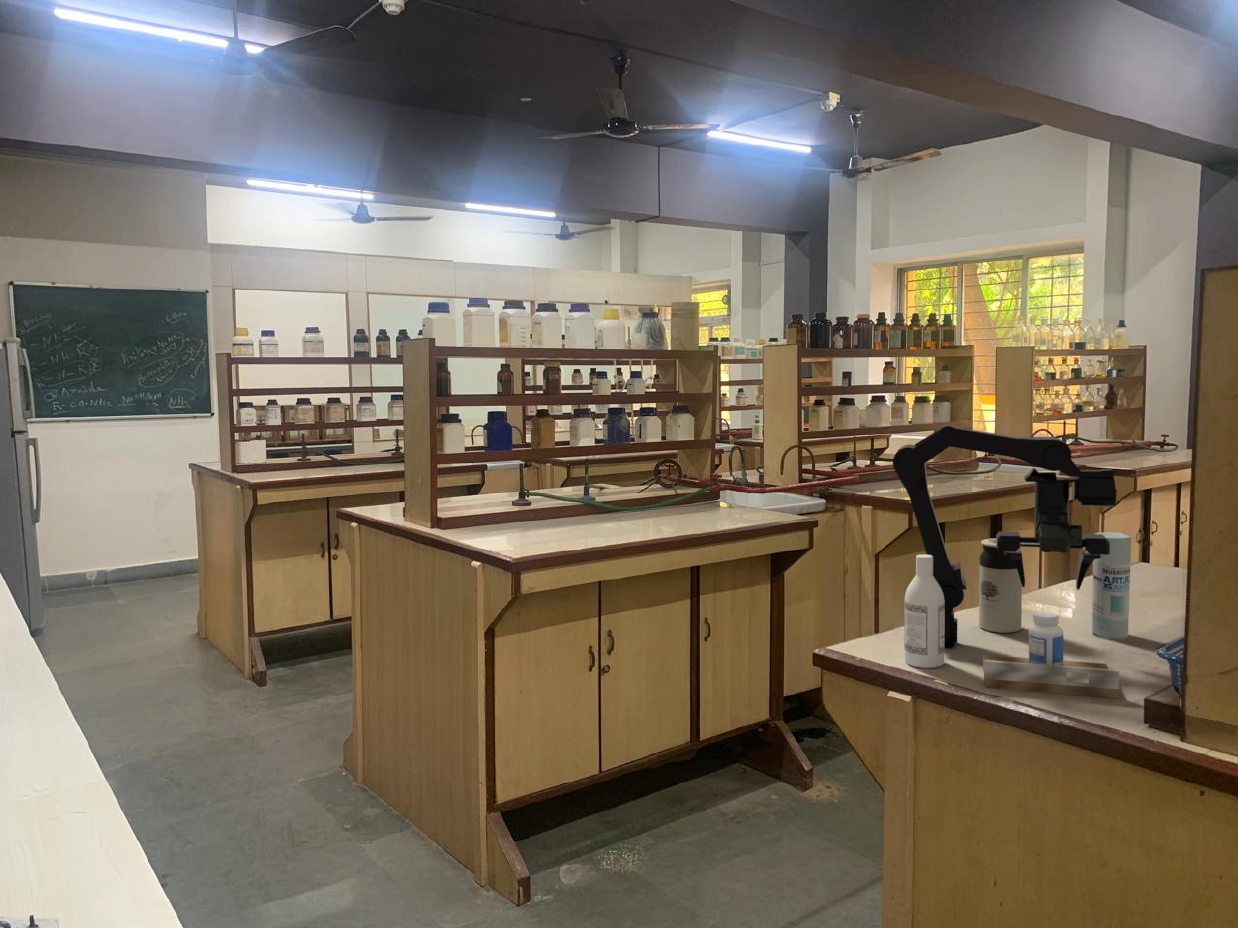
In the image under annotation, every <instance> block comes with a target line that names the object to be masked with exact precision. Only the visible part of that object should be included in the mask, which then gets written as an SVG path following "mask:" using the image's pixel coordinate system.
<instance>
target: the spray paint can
mask: <svg viewBox="0 0 1238 928" xmlns="http://www.w3.org/2000/svg"><path fill="white" fill-rule="evenodd" d="M1094 534H1103V535H1104V536H1105V537H1106V538H1107V539H1108V541H1109V543H1110V554H1108V555H1102V554H1100V555H1101V558H1100V559H1095V560H1094V561H1093V562H1092V608H1091V609H1092V612H1091V615H1092V616H1091V621H1092V622H1091V631H1092V635H1093V636H1095V637H1097V638H1101V639H1106V640H1119V641H1120V640H1126V639H1127V638H1128V635H1129V615H1130V590H1131V589H1130V586H1131V585H1130V583H1131V560H1132V559H1131V558H1132V557H1131V556H1132V555H1131V554H1132V536H1131V535H1130V534H1129V533H1128V534H1127V533H1124V532H1122V533H1121V532H1115V531H1114V532H1113V531H1111V532H1108V531H1107V532H1106V531H1103V532H1095V533H1094Z"/></svg>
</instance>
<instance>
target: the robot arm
mask: <svg viewBox="0 0 1238 928" xmlns="http://www.w3.org/2000/svg"><path fill="white" fill-rule="evenodd" d="M948 448H959V449H963V450H969V451H975V452H980V453H986V454H993V455H998V456H1003V457H1007V458H1008V457H1010V458H1014V459H1018V460H1020V461H1023V462H1025V463H1027V464H1030V465H1033V466H1036V467H1038V468H1041V469H1044V470H1047V471H1044V472H1043V471H1038V470H1037V469H1036V468H1035V467H1033V468H1031V470H1030V471H1029V472H1028V473H1027V474H1025V475H1024V476H1023V479H1024V480H1025V482H1027V483H1034V486H1035V487H1034V526H1033V527H1034V532H1033V533H1034V534H1033V535H1034V536H1021V534H1020V532H1019V531H998V532H997V533H996V535H995V537H996V546H997V550H998V551H1004V554H1005V555H1008V556H1011V557H1012V559H1013V561H1014V563H1015V566H1016V568H1017V571H1018V574H1019V577H1020V580H1021V584H1022V588H1025V587H1026V577H1025V571H1024V570H1025V568H1024V560H1023V552H1022V550H1021V549H1022V547H1023V548H1024V547H1025V548H1026V547H1027V548H1039V549H1040V551H1041V552H1043V553H1051V552H1057V553H1061V554H1067V553H1070V551H1071V549H1079V552H1078V559H1077V568H1076V577H1075V587H1076V588H1075V589H1076V590H1078V591H1079V590H1080V589H1081V586H1082V584H1083V581H1084V579H1085V576H1086V574H1087V571H1088V570H1089V568H1090V566H1091V564H1093V561H1094V560H1095V559H1100V558H1101V555H1100V554H1102V555H1108V554H1110V543H1109V541H1108V539H1107V538H1106V537H1105V536H1104V535H1103V534H1095V533H1083V526H1082V524H1080V525H1079V524H1070V523H1069V519H1070V517H1069V516H1070V515H1069V514H1070V513H1069V512H1070V483H1072V484H1071V485H1072V486H1071V495H1072V496H1071V497H1072V500H1073V501H1074V502H1075V501H1077V502H1078V505H1079V506H1078V507H1104V508H1106V507H1107V508H1108V507H1111V508H1115V506H1116V503H1117V488H1116V481H1115V473H1114V472H1115V471H1114V470H1113V469H1112V468H1103V469H1080V466H1079V465H1078V464H1076V463H1075V462H1074V461H1073V460H1072V451H1071V448H1070V446H1069V445H1068V444H1067V443H1066V442H1065V441H1064V440H1062V439H1060V438H1059V437H1056V436H1055V437H1054V436H1024V437H1022V436H1021V437H1020V436H1017V437H1016V436H1011V435H1005V434H1000V433H999V434H998V433H994V432H993V433H992V432H988V431H982V430H981V431H980V430H975V429H969V428H963V427H958V426H957V427H956V426H954V425H952V424H945V425H942V426H940V427H939V428H938V429H937V430H936V431H934V432H933V433H931V434H929V435H928V436H926V437H924V438H923V439H921V440H919V441H917V442H916V443H915V444H910V443H909V444H905V445H902V446H901V447H899V449H897V451H896V452H895V454H894V456H893V458H892V466H893V469H894V472H895V473H896V475H897V476H898V478H899V481H900V483H901V484H902V486H903V488H904V489H905V491H906V493H907V494H908V496H909V500H910V503H911V507H912V510H913V514H914V516H915V521H916V523H917V527H918V530H919V534H920V536H921V541H922V543H923V548H924V551H925V553H926V554H925V555H931V556H933V577H934V578H935V580H936V581H937V583H938V584H939V586H940V587H941V589H942V592H943V595H944V601H945V648H950V649H951V648H955V647H956V643H958V618H956V617H955V610H954V609H955V608H957V607H959V606H960V605H961V604H962V602H963V600H964V598H965V591H966V590H967V579H965V577H964V576H963V573H962V566H961V562H956V563H953V562H952V560H951V557H949V554H948V551H947V548H946V545H945V541H944V538H943V534H942V531H941V528H940V524H939V520H938V518H937V515H936V514H937V513H936V510H935V507H934V504H933V500H932V497H931V494H930V491H929V485H928V473H927V462H929V461H931V460H932V459H934V458H935V457H937V456H938V455H940V454H941V453H942V452H944V451H945V450H947V449H948ZM1048 471H1050V472H1048ZM1058 471H1059V472H1061V473H1063V474H1064V475H1066V477H1065V476H1064V477H1063V476H1062V477H1061V476H1060V477H1059V476H1057V473H1056V472H1058Z"/></svg>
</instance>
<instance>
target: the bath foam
mask: <svg viewBox="0 0 1238 928" xmlns="http://www.w3.org/2000/svg"><path fill="white" fill-rule="evenodd" d="M903 605H904V608H903V609H904V612H903V613H904V616H903V618H904V619H903V620H904V624H903V625H904V629H903V630H904V635H903V636H904V662H905V663H907V664H908V665H910V666H912V667H915V668H919V667H920V668H921V669H936V668H940V667H942V666H943V665H945V664H944V663H945V650H946V647H945V601H944V595H943V592H942V589H941V587H940V586H939V584H938V583H937V581H936V580H935V578H934V577H933V556H931V555H927V554H917V555H916V557H915V575H914V577H913V579H912V580H911V581H910V583H909V585H908V587H907V588H906V590H905V595H904V604H903Z"/></svg>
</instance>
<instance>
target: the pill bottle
mask: <svg viewBox="0 0 1238 928" xmlns="http://www.w3.org/2000/svg"><path fill="white" fill-rule="evenodd" d="M1059 618H1060V617H1059V614H1058V613H1057V612H1053V611H1048V610H1038V611H1034V612H1032V622H1033V624H1032V623H1031V624H1030V625H1029V627H1028V658H1029V663H1034V664H1047V665H1061V666H1063V661H1064V630H1063V628H1062V627H1061V626H1060V625H1058V624H1059V623H1060V622H1059V621H1060V620H1059Z"/></svg>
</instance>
